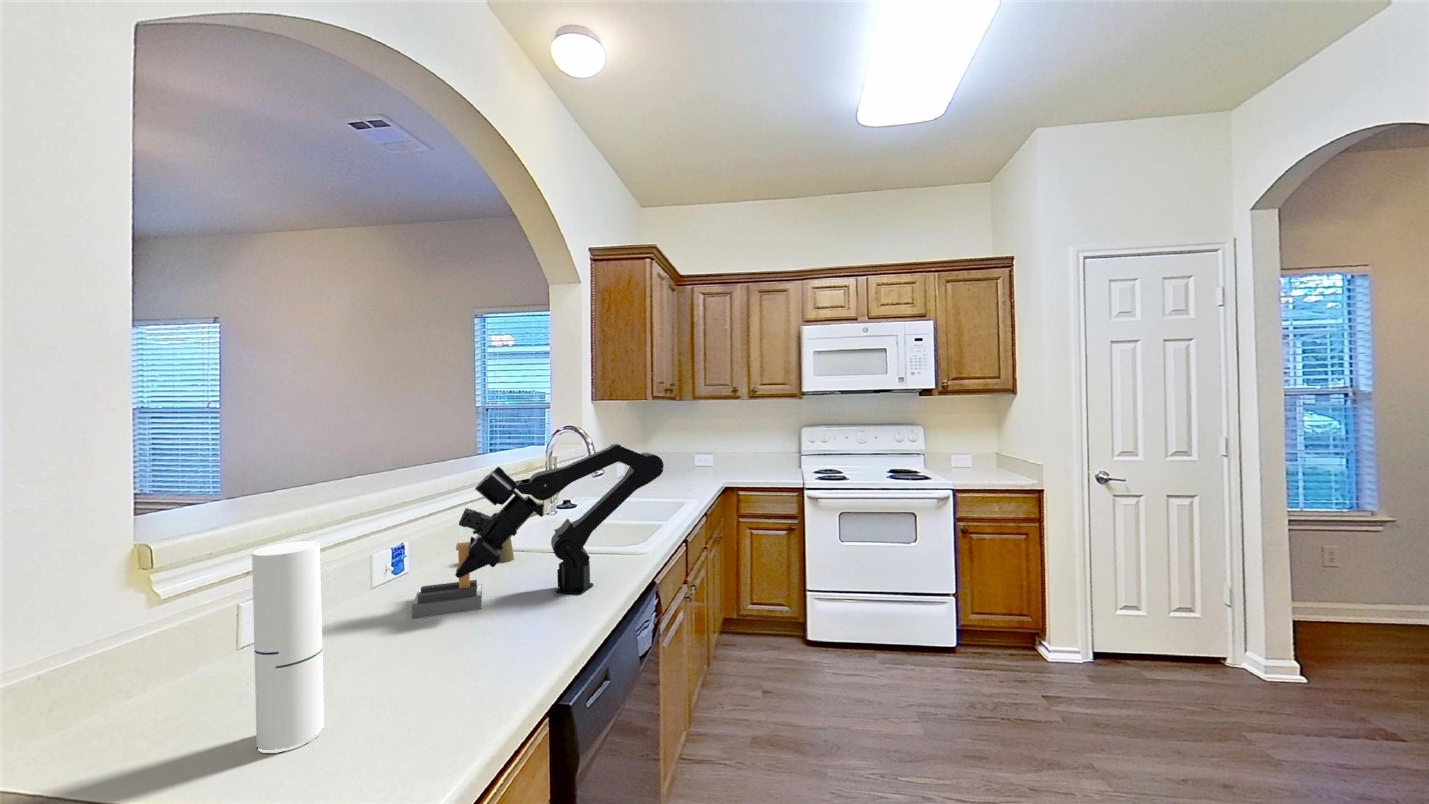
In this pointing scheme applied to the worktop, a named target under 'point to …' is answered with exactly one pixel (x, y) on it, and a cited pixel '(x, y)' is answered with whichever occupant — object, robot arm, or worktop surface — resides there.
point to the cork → (506, 552)
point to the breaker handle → (462, 555)
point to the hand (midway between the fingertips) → (457, 574)
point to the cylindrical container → (287, 644)
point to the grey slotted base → (446, 599)
